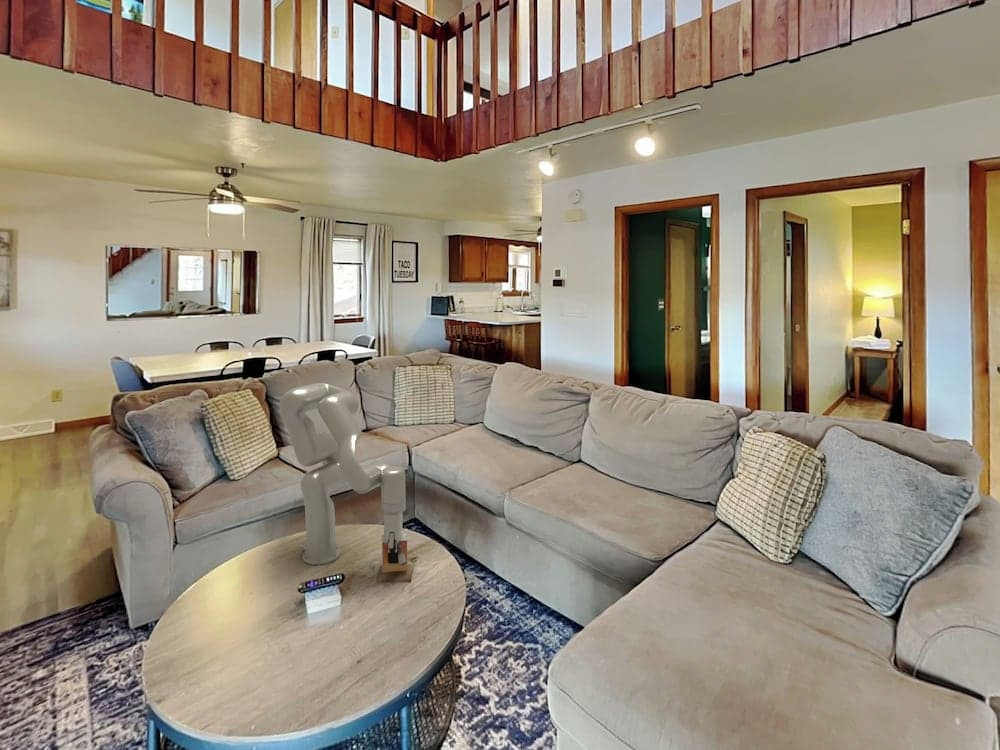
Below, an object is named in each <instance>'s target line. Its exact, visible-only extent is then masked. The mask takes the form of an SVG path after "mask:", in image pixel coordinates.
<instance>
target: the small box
mask: <svg viewBox="0 0 1000 750" xmlns="http://www.w3.org/2000/svg"><path fill="white" fill-rule="evenodd" d="M407 536H408V534H407V532H402V534H401V538H400V541H399V543H398V545H397V551H398V563H394V564H389V563H388V543H386V544H385V543H384V534H382V535H381V565H382V571H383V572H391V571H406V570H407V565H408V538H407ZM388 542H389V540H388ZM394 542H396V540H394ZM394 546H395V544H394Z"/></svg>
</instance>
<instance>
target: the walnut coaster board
mask: <svg viewBox="0 0 1000 750" xmlns="http://www.w3.org/2000/svg"><path fill="white" fill-rule="evenodd" d="M414 567H415V566H414V564H407V570H406V571H391V572H383V571H382V564H381V565H380V566H379V569H378V572H377V575H376V578H375V583H378V584H381V583H382V584H383V583H385V584H386V583H388V584H389V583H411V581H412V578H413V572H414Z"/></svg>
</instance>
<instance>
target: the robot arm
mask: <svg viewBox="0 0 1000 750" xmlns="http://www.w3.org/2000/svg"><path fill="white" fill-rule="evenodd" d="M278 407H279V414H280V417H281V419H282V421H283V423H284V425H285V427H286V429H287V432H288V435H289V438H290V442H291V445H292V447H293V451H294V454H295V457H296V460H297V461H298V464H299V465H301V466H302V467H306V468H307V467H312V466H315V465H317V464H319V463H322V465H320V466H318V467H316V468H314V469H312V470H310V471H308V472H306V473H305V474H304V475H303V476H302V478H301V481H300V490H301V493H302V496H303V503H304V504H303V505H304V511H305V512H304V513H305V514H304V515H305V533H306V534H305V535H306V539H304V538H303V539H301V541H300V543H299V546H298V547H299V549H304V552H303V554H302V561H303V562H304V563H305V564H308V565H315V566H316V565H317V566H318V565H319V566H321V565H325V564H329V563H330V564H331V563H332V562H334V561H336V560H338V558H339V557H340V556H341V553H342V551H341V548H340V547H339V546H337V541H336V540H337V538H336V537H337V535H336V515H335V513H336V512H335V504H334V502H333V499H332V498H331V496H330V494H331V493H332V492H334V491H335V490H338V489H340V488H341V487H343V486H345V485H346V483H347V484H348V485H349V487H350V488H351V489H352V490H353V491H354V492H356V493H358V494H366V493H368V492H370V491H372V490H373V489H375V488H377V487H378V488H379V487H381V489H380V490H381V512H382V513H383V514H384V517H383V535H384V543H385V544H386V543H388V563H389V564H394V563H398V551H397V545H398V543H399V541H400V538H401V534H402V533H403V512H405V511H406V509H407V507H406V503H407V501H406V471H405V469H404V468H403V467H402V466H398V465H391V464H388V463H385V462H383V461H374V462H371V463H369V464H367V465H365V466H363V467H361V464H360V463H359V461H358V459H357V455H356V446H357V443H358V441H359V440H360V439H361V437H362V434H363V430H362V429H361V428H360V426H359V424H358V423H357V420H355V418H354V416H353V415H354V414H355V413H357V411H358V409H359V407H360V405H359V399H357V397H356V395H355V394H353V392H351V391H348V390H346V389H344V388H342V387H338V386H335V385H331V384H329V383H326V382H316V383H311V384H307V385H303V386H298V387H294V388H291V389H290V390H288V391H286V392H285V393H284V394H283V395H282V396H281V398H280V400H279V405H278ZM312 410H317V411H318V414H319V416H320V417H321V419H322V421H323V423H324V424H325V425H326V427H327V429H328V430H329V432H328V431H325V432H320V433H318V432H317V429H316V426H315V423H314V422H313V420H312V419H311V418H310V417H309V415H308V414H306V412H309V411H312ZM388 540H389V542H388ZM394 540H396V542H394ZM394 544H395V546H394Z"/></svg>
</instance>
